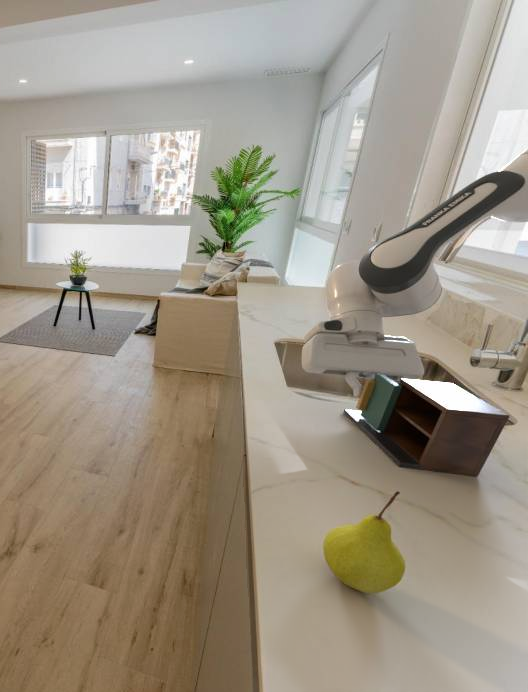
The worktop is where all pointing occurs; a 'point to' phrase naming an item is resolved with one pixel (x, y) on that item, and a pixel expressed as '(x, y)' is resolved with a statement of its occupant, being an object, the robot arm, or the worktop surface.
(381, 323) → the robot arm
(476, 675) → the worktop surface
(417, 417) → the cabinet
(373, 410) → the sliding door
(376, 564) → the fruit
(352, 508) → the worktop surface
